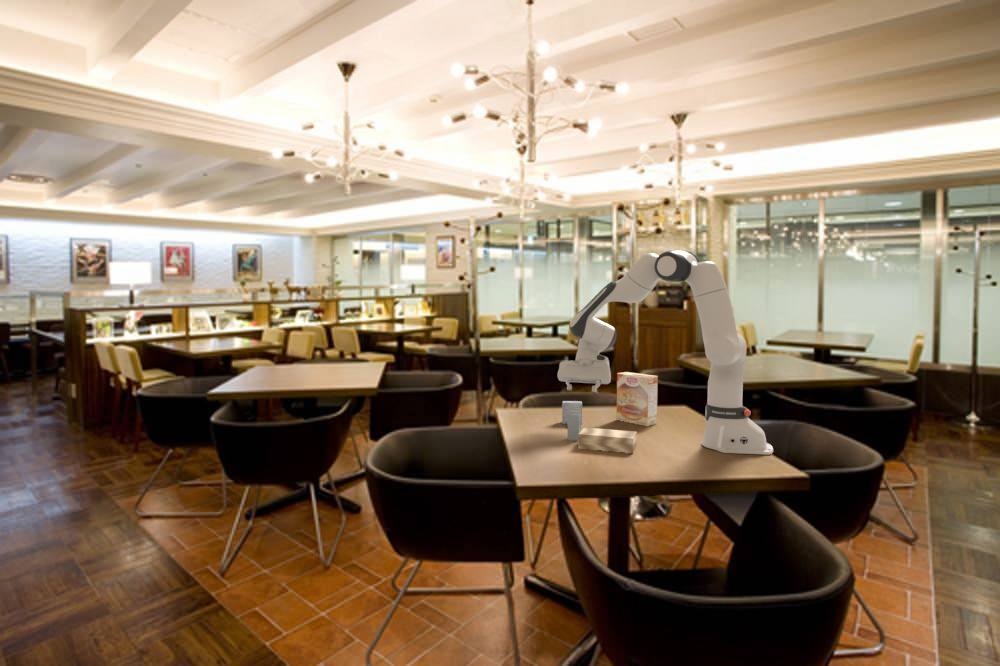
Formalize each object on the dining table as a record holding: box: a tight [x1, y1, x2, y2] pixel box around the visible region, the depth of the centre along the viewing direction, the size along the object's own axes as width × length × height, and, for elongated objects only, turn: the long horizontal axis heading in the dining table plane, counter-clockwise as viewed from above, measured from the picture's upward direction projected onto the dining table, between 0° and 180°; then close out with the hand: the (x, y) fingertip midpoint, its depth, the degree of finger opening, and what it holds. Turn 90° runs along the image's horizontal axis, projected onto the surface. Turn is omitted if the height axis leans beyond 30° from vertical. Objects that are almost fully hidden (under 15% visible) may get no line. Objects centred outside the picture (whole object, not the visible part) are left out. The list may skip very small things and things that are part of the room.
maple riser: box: [577, 427, 638, 454], centre depth 195 cm, size 18×10×5 cm, turn 71°
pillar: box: [567, 413, 582, 441], centre depth 205 cm, size 4×4×9 cm
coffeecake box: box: [615, 371, 659, 427], centre depth 232 cm, size 15×7×20 cm, turn 43°
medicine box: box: [561, 400, 583, 425], centre depth 230 cm, size 8×4×9 cm, turn 84°
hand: (581, 390), depth 216 cm, fingers open, 8 cm apart
